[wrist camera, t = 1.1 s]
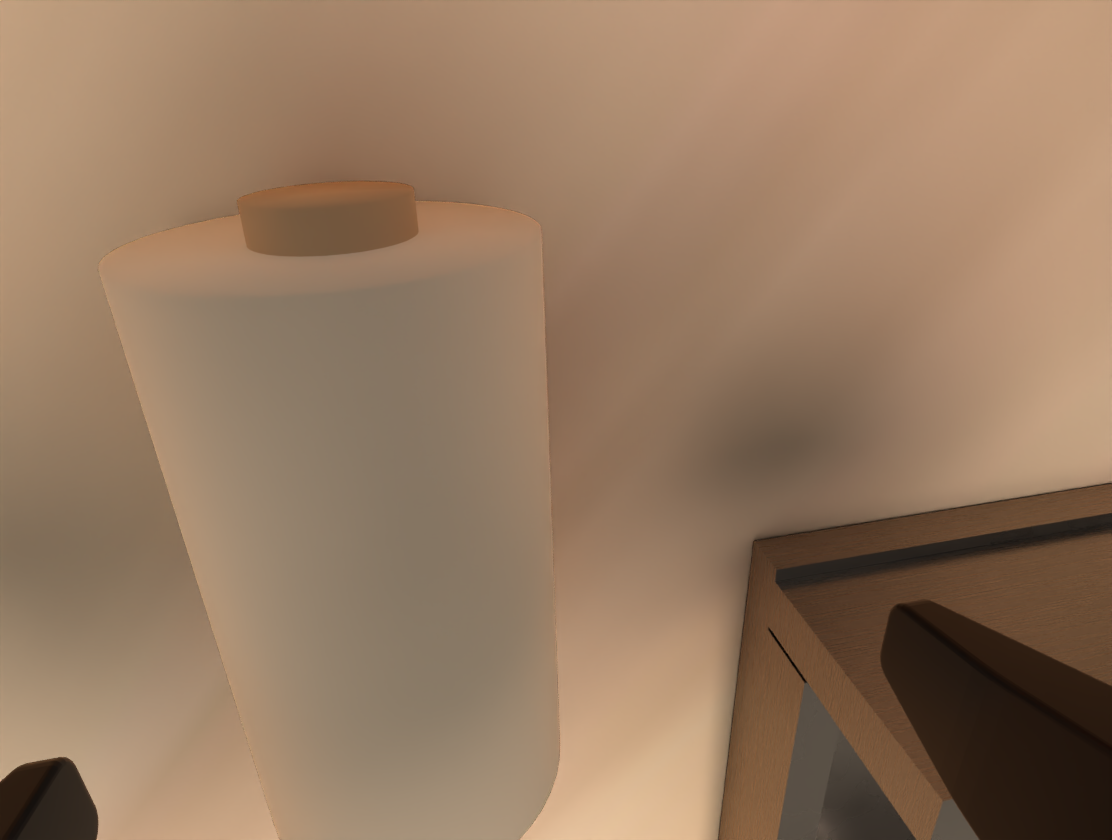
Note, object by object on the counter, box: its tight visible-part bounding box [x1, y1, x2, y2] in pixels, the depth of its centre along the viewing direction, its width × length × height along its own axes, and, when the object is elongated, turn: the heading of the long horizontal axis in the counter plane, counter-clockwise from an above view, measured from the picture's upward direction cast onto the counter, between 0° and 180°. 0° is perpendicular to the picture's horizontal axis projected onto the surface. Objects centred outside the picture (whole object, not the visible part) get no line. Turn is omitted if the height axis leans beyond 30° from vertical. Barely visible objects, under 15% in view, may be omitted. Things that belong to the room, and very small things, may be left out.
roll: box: [98, 181, 560, 840], centre depth 11 cm, size 10×5×5 cm
